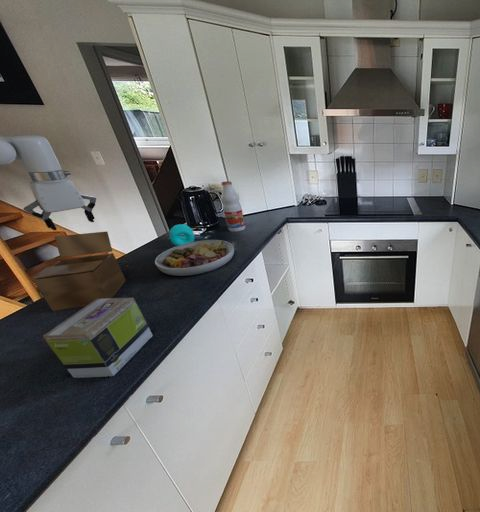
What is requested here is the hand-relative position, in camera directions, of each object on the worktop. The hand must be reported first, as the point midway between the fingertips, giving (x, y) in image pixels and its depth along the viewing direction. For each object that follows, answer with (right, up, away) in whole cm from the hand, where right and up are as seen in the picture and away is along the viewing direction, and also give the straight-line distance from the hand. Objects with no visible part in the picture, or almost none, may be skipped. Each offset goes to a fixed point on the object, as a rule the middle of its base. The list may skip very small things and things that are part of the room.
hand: (73, 225), depth 97 cm
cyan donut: (+7, -5, +45) cm, 46 cm away
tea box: (+37, -39, -22) cm, 58 cm away
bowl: (+26, -14, +28) cm, 41 cm away
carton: (+3, -25, +4) cm, 26 cm away
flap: (0, -7, +4) cm, 8 cm away
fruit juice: (+23, +5, +66) cm, 70 cm away
